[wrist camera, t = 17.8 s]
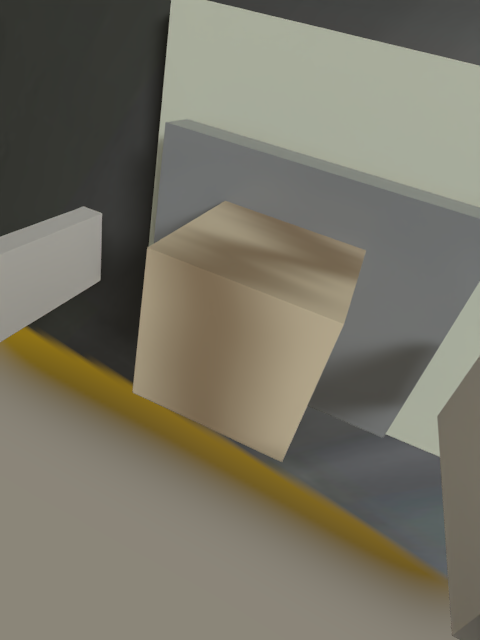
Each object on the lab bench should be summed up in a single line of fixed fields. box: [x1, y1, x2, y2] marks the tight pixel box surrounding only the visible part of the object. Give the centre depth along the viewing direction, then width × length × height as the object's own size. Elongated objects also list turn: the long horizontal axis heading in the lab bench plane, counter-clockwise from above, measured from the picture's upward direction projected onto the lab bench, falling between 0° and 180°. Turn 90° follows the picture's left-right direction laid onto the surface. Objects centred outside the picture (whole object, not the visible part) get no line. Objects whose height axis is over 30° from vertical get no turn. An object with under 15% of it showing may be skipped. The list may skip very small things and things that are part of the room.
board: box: [149, 0, 480, 457], centre depth 16 cm, size 19×14×1 cm
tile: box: [154, 119, 480, 438], centre depth 16 cm, size 2×9×11 cm
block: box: [133, 201, 366, 462], centre depth 13 cm, size 5×5×5 cm
